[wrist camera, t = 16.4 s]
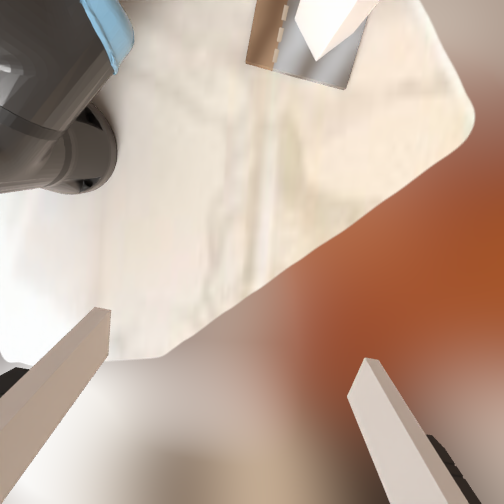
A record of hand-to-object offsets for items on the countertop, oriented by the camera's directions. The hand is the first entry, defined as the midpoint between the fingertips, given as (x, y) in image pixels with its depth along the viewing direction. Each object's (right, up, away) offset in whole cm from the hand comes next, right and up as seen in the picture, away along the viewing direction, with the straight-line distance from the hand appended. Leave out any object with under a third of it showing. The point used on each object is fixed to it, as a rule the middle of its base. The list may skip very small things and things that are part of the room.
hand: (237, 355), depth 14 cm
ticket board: (+9, +37, +24) cm, 45 cm away
